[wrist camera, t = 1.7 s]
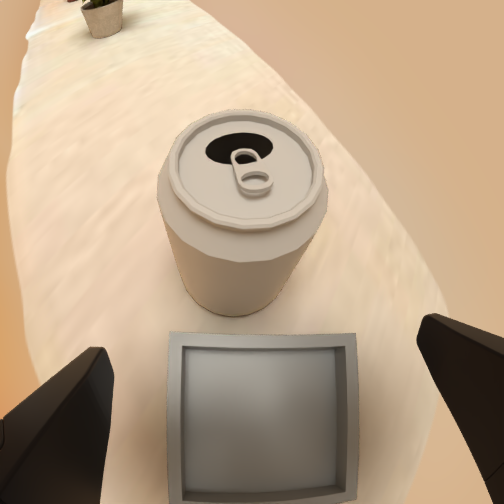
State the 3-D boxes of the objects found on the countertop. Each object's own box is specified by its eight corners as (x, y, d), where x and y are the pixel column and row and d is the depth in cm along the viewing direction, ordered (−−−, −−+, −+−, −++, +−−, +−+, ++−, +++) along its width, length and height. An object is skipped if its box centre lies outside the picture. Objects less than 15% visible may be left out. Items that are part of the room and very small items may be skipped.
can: (267, 214, 25) (300, 91, 14) (297, 304, 22) (372, 219, 11) (172, 233, 23) (144, 110, 12) (193, 330, 20) (163, 265, 9)
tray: (342, 489, 16) (356, 499, 14) (174, 496, 15) (169, 509, 13) (341, 338, 21) (355, 333, 19) (175, 337, 20) (169, 331, 18)
